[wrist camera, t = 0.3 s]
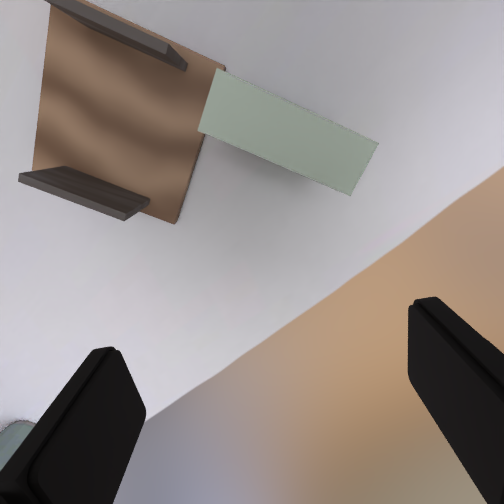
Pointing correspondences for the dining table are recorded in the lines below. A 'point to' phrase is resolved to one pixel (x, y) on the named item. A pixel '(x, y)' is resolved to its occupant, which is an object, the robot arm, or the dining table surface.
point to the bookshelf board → (117, 114)
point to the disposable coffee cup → (13, 439)
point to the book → (284, 133)
